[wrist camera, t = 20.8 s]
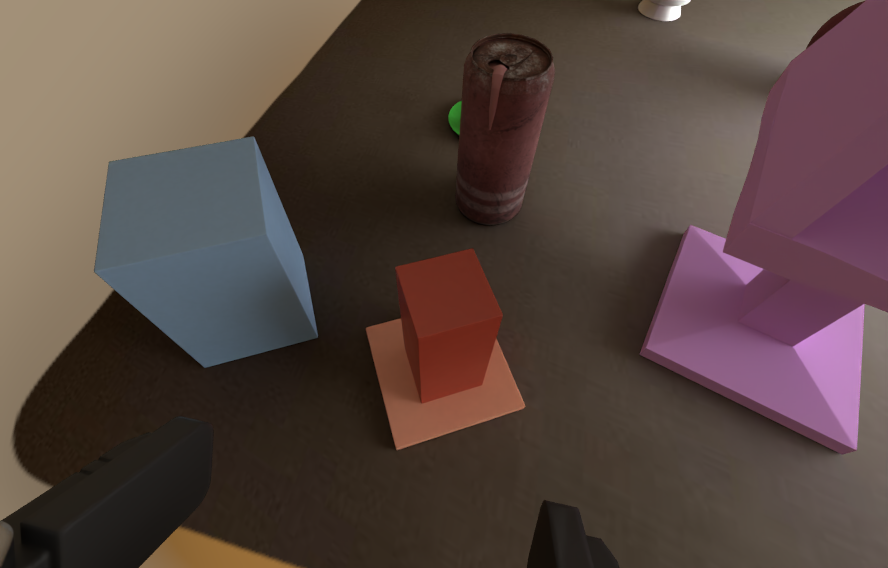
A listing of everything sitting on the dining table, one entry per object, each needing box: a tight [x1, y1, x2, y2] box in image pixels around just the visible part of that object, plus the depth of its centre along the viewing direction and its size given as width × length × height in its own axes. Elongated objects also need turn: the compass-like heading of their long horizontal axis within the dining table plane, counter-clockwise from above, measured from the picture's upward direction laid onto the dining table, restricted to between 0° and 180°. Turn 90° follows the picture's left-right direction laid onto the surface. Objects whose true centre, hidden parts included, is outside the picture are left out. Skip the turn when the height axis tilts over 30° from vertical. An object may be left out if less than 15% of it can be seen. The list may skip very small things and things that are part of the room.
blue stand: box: [94, 137, 318, 368], centre depth 28 cm, size 8×8×12 cm
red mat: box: [366, 318, 525, 450], centre depth 31 cm, size 9×9×1 cm
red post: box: [395, 248, 503, 404], centre depth 26 cm, size 4×4×10 cm
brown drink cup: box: [455, 33, 555, 225], centre depth 34 cm, size 6×6×14 cm
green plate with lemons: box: [449, 101, 462, 135], centre depth 45 cm, size 8×8×3 cm
